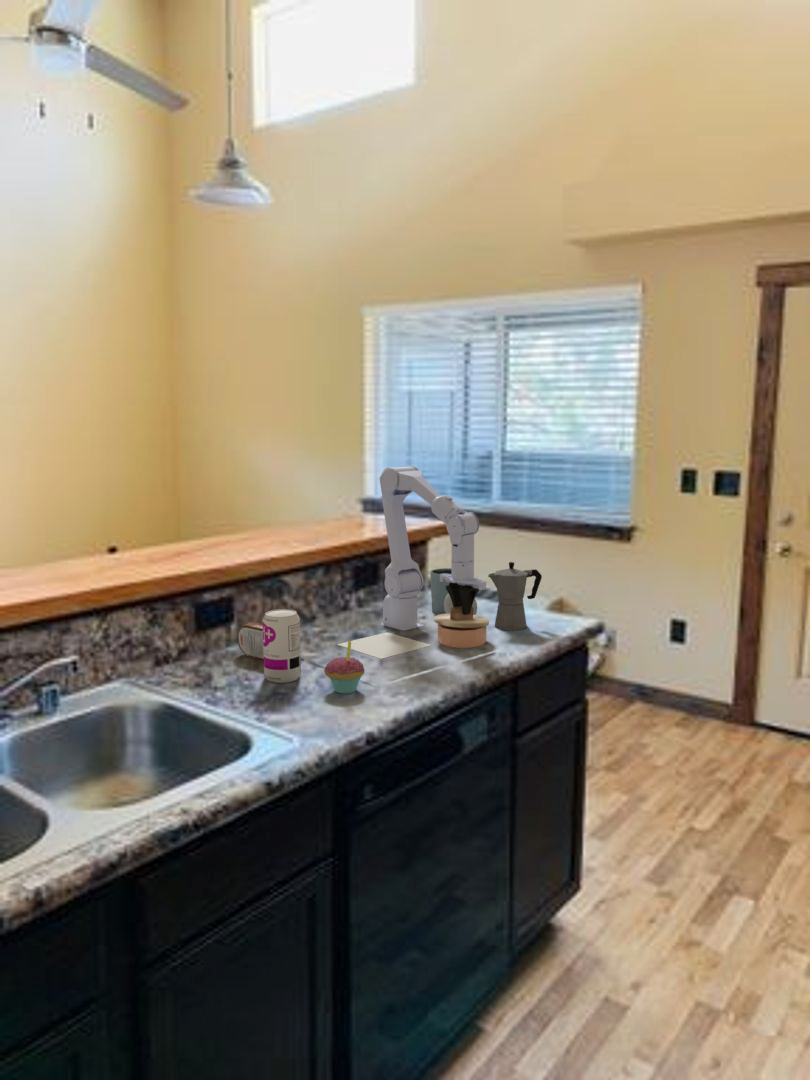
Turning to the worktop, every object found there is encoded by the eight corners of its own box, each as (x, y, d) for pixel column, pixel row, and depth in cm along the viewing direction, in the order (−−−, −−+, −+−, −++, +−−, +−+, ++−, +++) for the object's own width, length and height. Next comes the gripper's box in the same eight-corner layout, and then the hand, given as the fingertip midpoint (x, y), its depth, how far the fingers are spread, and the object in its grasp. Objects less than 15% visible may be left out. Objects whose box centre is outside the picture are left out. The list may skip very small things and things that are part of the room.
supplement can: (271, 686, 187) (269, 619, 185) (259, 675, 194) (257, 611, 192) (306, 680, 191) (304, 614, 188) (293, 670, 198) (291, 607, 196)
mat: (336, 646, 217) (336, 644, 217) (387, 634, 229) (387, 632, 229) (381, 661, 205) (381, 658, 205) (431, 647, 216) (431, 645, 216)
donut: (479, 624, 239) (479, 589, 237) (474, 627, 236) (474, 591, 234) (447, 620, 244) (447, 585, 242) (441, 622, 241) (441, 588, 239)
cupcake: (372, 689, 185) (372, 635, 183) (343, 699, 178) (343, 643, 176) (345, 681, 190) (344, 628, 188) (316, 690, 184) (315, 636, 182)
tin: (289, 662, 204) (288, 628, 203) (279, 665, 202) (278, 631, 201) (245, 652, 213) (243, 619, 212) (235, 655, 211) (234, 621, 209)
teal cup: (431, 606, 260) (431, 567, 258) (464, 607, 259) (465, 568, 257) (429, 614, 250) (429, 574, 248) (463, 615, 249) (464, 574, 247)
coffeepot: (493, 632, 231) (494, 566, 228) (482, 623, 240) (483, 560, 237) (547, 628, 234) (548, 563, 232) (534, 620, 243) (535, 557, 241)
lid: (422, 619, 220) (423, 605, 219) (460, 614, 229) (461, 600, 229) (462, 630, 209) (463, 615, 209) (500, 624, 219) (501, 609, 218)
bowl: (429, 643, 220) (428, 624, 220) (460, 634, 229) (460, 616, 228) (464, 652, 212) (464, 633, 211) (495, 643, 220) (495, 624, 219)
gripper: (431, 558, 219) (431, 610, 222) (473, 566, 209) (472, 620, 211) (450, 555, 224) (450, 606, 226) (492, 563, 214) (491, 616, 216)
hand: (462, 613), depth 219 cm, fingers closed on lid, 2 cm apart
